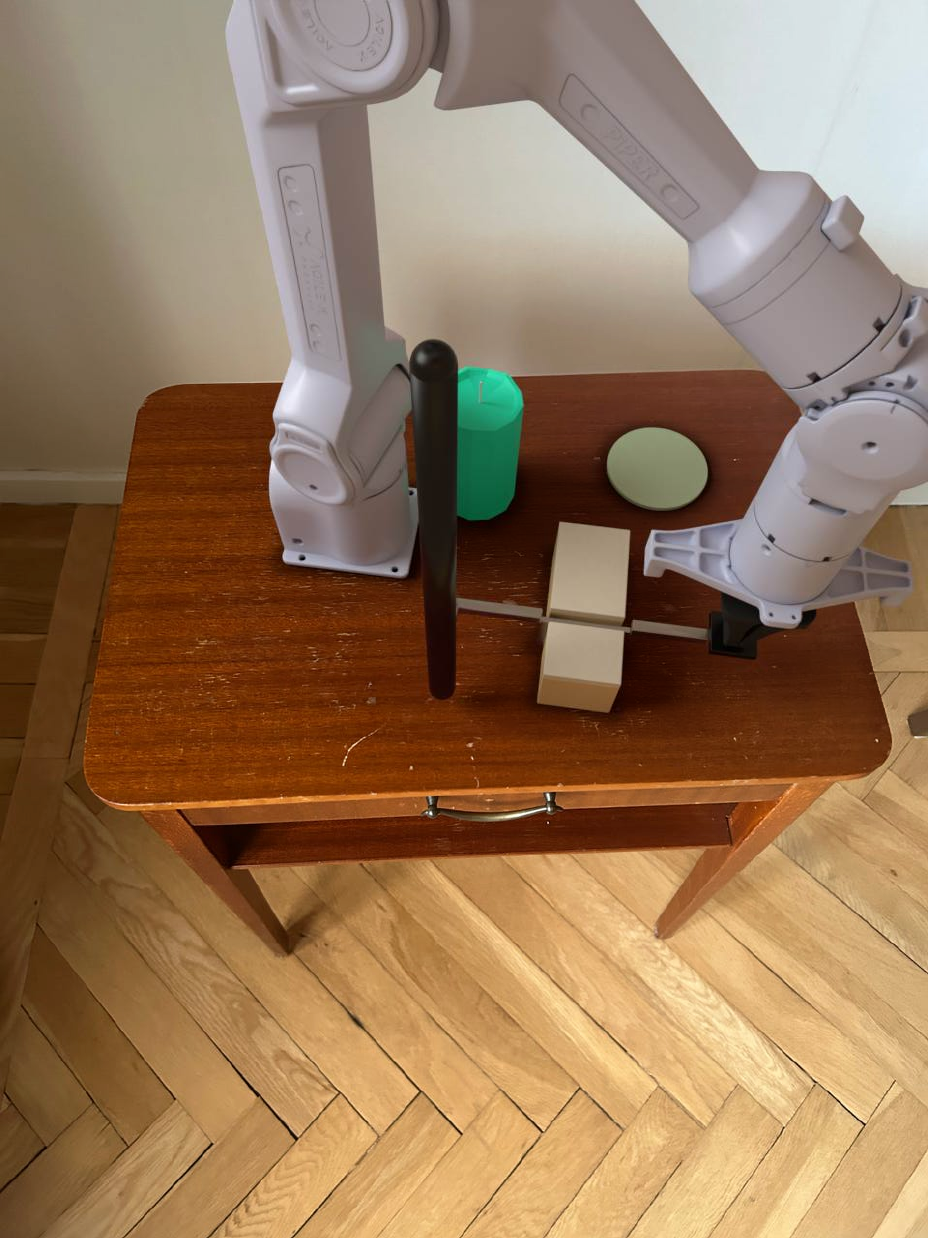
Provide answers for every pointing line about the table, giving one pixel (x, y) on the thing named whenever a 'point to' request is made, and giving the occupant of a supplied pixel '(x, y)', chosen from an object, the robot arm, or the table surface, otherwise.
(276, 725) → the table surface
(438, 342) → the black upright rod
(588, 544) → the tall beige cuboid
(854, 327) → the robot arm
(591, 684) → the beige block
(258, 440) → the table surface
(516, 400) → the candle
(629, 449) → the plate
